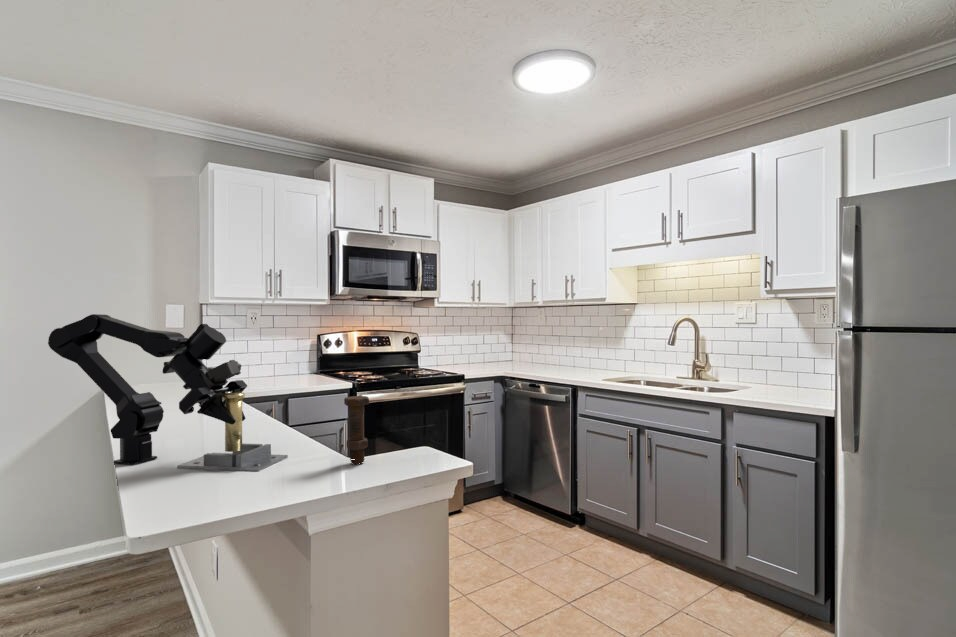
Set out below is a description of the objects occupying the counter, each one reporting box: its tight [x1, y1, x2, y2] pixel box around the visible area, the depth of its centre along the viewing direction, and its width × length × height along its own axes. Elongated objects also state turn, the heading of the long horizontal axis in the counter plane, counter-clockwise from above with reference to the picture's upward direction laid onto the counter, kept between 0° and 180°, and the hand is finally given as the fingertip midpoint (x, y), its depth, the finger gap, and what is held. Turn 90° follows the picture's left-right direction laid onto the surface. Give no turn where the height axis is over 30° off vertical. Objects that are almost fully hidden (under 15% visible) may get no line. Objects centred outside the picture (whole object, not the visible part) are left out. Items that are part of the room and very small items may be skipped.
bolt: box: [343, 395, 370, 465], centre depth 120 cm, size 6×5×15 cm
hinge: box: [176, 442, 289, 472], centre depth 122 cm, size 20×12×3 cm, turn 80°
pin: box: [223, 392, 245, 453], centre depth 123 cm, size 5×5×13 cm
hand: (239, 421), depth 122 cm, fingers closed on pin, 4 cm apart
